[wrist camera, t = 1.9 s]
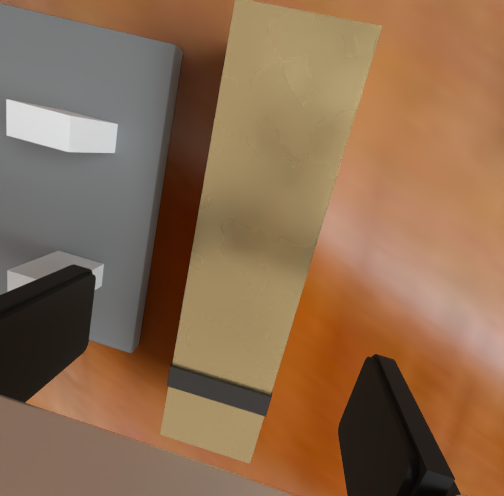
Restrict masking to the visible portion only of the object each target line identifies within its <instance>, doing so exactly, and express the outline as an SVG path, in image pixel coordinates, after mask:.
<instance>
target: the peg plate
mask: <svg viewBox="0 0 504 496" xmlns="http://www.w3.org/2000/svg"><path fill="white" fill-rule="evenodd" d="M182 56H183V51H182V50H181V49H180V48H179V47H178V46H176V45H175V44H170V43H166V42H162V41H158V40H153V39H149V38H145V37H141V36H136V35H132V34H128V33H124V32H119V31H115V30H111V29H107V28H102V27H98V26H94V25H90V24H85V23H81V22H77V21H73V20H68V19H64V18H60V17H56V16H51V15H47V14H43V13H39V12H34V11H30V10H26V9H22V8H17V7H13V6H9V5H5V4H0V295H1V294H4V293H6V292H8V291H11V290H13V289H15V288H18V287H20V286H23V285H25V284H27V283H30V282H32V281H34V280H37V279H39V278H41V277H44V276H46V275H49V274H51V273H53V272H56V271H58V270H60V269H63V268H65V267H67V266H70V265H73V264H75V265H78V266H82V267H85V268H88V269H91V270H92V273H93V274H94V275H95V277H96V283H95V291H94V300H93V308H92V317H91V325H90V334H89V340H91V341H94V342H97V343H100V344H103V345H106V346H109V347H112V348H116V349H119V350H122V351H125V352H128V353H132V352H133V351H134V350H135V349H136V348H137V346H138V345H139V341H140V335H141V328H142V321H143V315H144V308H145V301H146V295H147V288H148V282H149V275H150V268H151V262H152V255H153V248H154V242H155V235H156V229H157V222H158V215H159V209H160V202H161V195H162V189H163V182H164V176H165V169H166V162H167V156H168V149H169V142H170V136H171V129H172V123H173V116H174V109H175V103H176V96H177V89H178V83H179V76H180V70H181V63H182Z"/></svg>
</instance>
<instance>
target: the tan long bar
mask: <svg viewBox="0 0 504 496" xmlns="http://www.w3.org/2000/svg"><path fill="white" fill-rule="evenodd" d="M381 28H382V26H379V25H374V24H369V23H364V22H359V21H354V20H348V19H343V18H338V17H333V16H328V15H323V14H318V13H313V12H307V11H302V10H297V9H292V8H287V7H282V6H277V5H272V4H266V3H261V2H256V1H251V0H235V3H234V9H233V15H232V21H231V27H230V32H229V38H228V44H227V50H226V56H225V61H224V67H223V73H222V79H221V85H220V90H219V96H218V102H217V108H216V114H215V119H214V125H213V131H212V137H211V143H210V148H209V154H208V160H207V166H206V172H205V177H204V183H203V189H202V195H201V201H200V207H199V212H198V218H197V224H196V230H195V236H194V241H193V247H192V253H191V259H190V265H189V270H188V276H187V282H186V288H185V294H184V299H183V305H182V311H181V317H180V323H179V328H178V334H177V340H176V346H175V352H174V358H173V363H172V364H171V366H170V370H169V376H168V381H167V386H168V392H167V398H166V404H165V410H164V416H163V421H162V427H161V433H160V435H163V436H166V437H169V438H172V439H176V440H179V441H182V442H185V443H188V444H191V445H194V446H197V447H200V448H203V449H206V450H209V451H213V452H216V453H219V454H222V455H225V456H228V457H231V458H234V459H237V460H240V461H243V462H246V463H249V464H250V462H251V459H252V455H253V452H254V449H255V445H256V442H257V439H258V435H259V432H260V429H261V426H262V422H263V419H264V416H265V417H266V414H267V411H268V407H269V404H270V401H271V397H272V390H273V386H274V383H275V379H276V376H277V373H278V369H279V366H280V363H281V359H282V356H283V353H284V349H285V346H286V343H287V339H288V336H289V333H290V330H291V326H292V323H293V320H294V316H295V313H296V310H297V306H298V303H299V300H300V296H301V293H302V290H303V287H304V283H305V280H306V277H307V273H308V270H309V267H310V263H311V260H312V257H313V253H314V250H315V247H316V244H317V240H318V237H319V234H320V230H321V227H322V224H323V220H324V217H325V214H326V210H327V207H328V204H329V200H330V197H331V194H332V191H333V187H334V184H335V181H336V177H337V174H338V171H339V167H340V164H341V161H342V157H343V154H344V151H345V148H346V144H347V141H348V138H349V134H350V131H351V128H352V124H353V121H354V118H355V114H356V111H357V108H358V105H359V101H360V98H361V95H362V91H363V88H364V85H365V81H366V78H367V75H368V71H369V68H370V65H371V62H372V58H373V55H374V52H375V48H376V45H377V42H378V38H379V35H380V32H381Z"/></svg>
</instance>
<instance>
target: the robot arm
mask: <svg viewBox="0 0 504 496" xmlns="http://www.w3.org/2000/svg"><path fill="white" fill-rule="evenodd" d="M95 283H96V277H95V275H94V274H93V273H92V270H91V269H88V268H85V267H82V266H78V265H75V264H73V265H70V266H67V267H65V268H63V269H60V270H58V271H56V272H53V273H51V274H49V275H46V276H44V277H41V278H39V279H37V280H34V281H32V282H30V283H27V284H25V285H23V286H20V287H18V288H15V289H13V290H11V291H8V292H6V293H4V294H1V295H0V496H300V495H297V494H294V493H291V492H288V491H285V490H282V489H279V488H277V487H274V486H271V485H268V484H265V483H262V482H259V481H256V480H253V479H250V478H247V477H245V476H242V475H239V474H236V473H233V472H230V471H227V470H224V469H221V468H218V467H215V466H213V465H210V464H207V463H204V462H201V461H198V460H195V459H192V458H189V457H186V456H183V455H180V454H177V453H174V452H171V451H168V450H165V449H162V448H159V447H156V446H153V445H150V444H148V443H145V442H142V441H139V440H136V439H133V438H130V437H127V436H124V435H121V434H118V433H115V432H112V431H109V430H106V429H103V428H100V427H97V426H94V425H91V424H88V423H85V422H82V421H79V420H76V419H73V418H70V417H67V416H64V415H61V414H57V413H54V412H51V411H48V410H45V409H42V408H39V407H36V406H33V405H30V404H27V403H25V402H26V401H27V400H29V399H30V398H31V397H32V396H33V395H34V394H36V393H37V392H38V391H39V390H40V389H41V388H43V387H44V386H45V385H46V384H47V383H48V382H50V381H51V380H52V379H53V378H54V377H55V376H57V375H58V374H59V373H60V372H61V371H62V370H64V369H65V368H66V367H67V366H68V365H69V364H71V363H72V362H73V361H74V360H75V359H76V358H78V357H79V356H80V355H81V354H82V353H83V352H84V351H85V350H86V348H87V345H88V342H89V334H90V325H91V317H92V308H93V300H94V291H95ZM338 436H339V442H340V449H341V455H342V462H343V468H344V475H345V481H346V488H347V494H348V496H468V495H461V494H460V492H459V490H458V488H457V486H456V484H455V482H454V480H455V478H454V476H453V474H452V472H451V470H450V468H449V466H448V464H447V462H446V460H445V458H444V456H443V454H442V452H441V450H440V448H439V447H438V445H437V443H436V441H435V439H434V437H433V435H432V433H431V431H430V429H429V427H428V425H427V423H426V421H425V419H424V417H423V415H422V413H421V411H420V409H419V407H418V405H417V403H416V401H415V399H414V397H413V395H412V393H411V391H410V389H409V387H408V386H407V384H406V382H405V380H404V378H403V376H402V374H401V372H400V370H399V368H398V366H397V364H396V362H395V361H394V360H393V359H390V358H387V357H384V356H380V355H377V354H375V355H373V356H372V358H371V357H367V358H366V360H365V362H364V364H363V367H362V369H361V371H360V374H359V376H358V379H357V381H356V384H355V386H354V389H353V391H352V394H351V396H350V398H349V401H348V403H347V406H346V408H345V411H344V413H343V416H342V418H341V421H340V424H339V429H338Z"/></svg>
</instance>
